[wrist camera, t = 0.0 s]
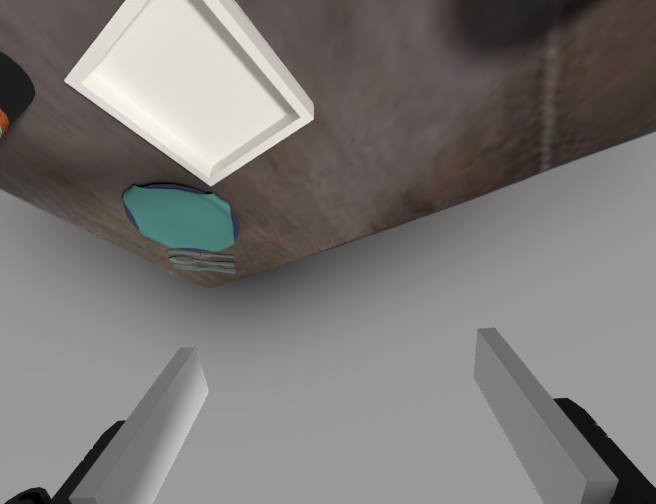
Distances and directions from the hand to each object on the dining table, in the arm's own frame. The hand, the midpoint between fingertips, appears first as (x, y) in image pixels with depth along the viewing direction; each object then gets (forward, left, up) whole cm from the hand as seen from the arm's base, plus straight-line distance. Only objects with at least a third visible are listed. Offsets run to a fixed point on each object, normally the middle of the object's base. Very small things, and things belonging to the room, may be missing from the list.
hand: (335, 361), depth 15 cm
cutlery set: (+15, -43, -37) cm, 58 cm away
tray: (-3, -16, -36) cm, 39 cm away
